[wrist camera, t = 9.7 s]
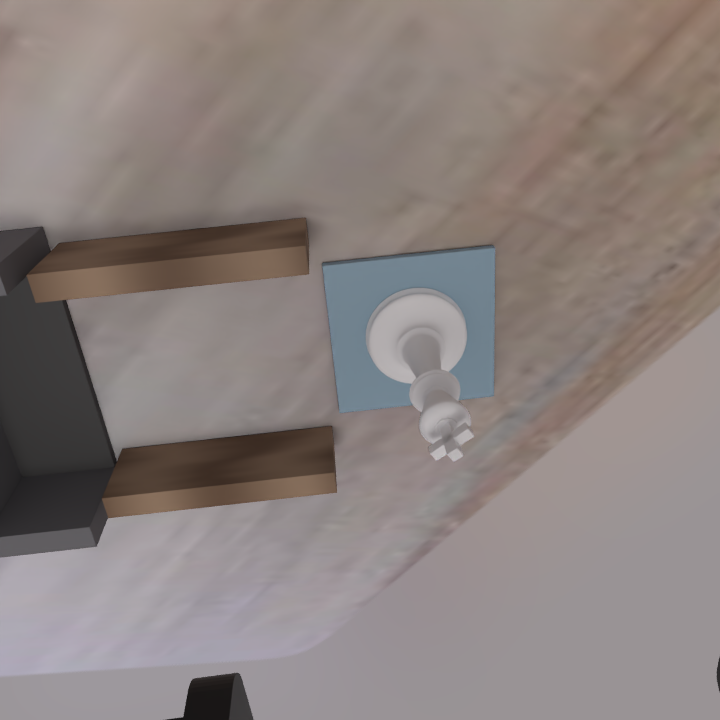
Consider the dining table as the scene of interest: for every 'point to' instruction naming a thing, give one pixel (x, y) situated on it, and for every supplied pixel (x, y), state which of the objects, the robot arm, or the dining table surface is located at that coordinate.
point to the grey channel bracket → (45, 417)
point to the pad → (388, 276)
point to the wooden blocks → (206, 457)
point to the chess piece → (424, 361)
